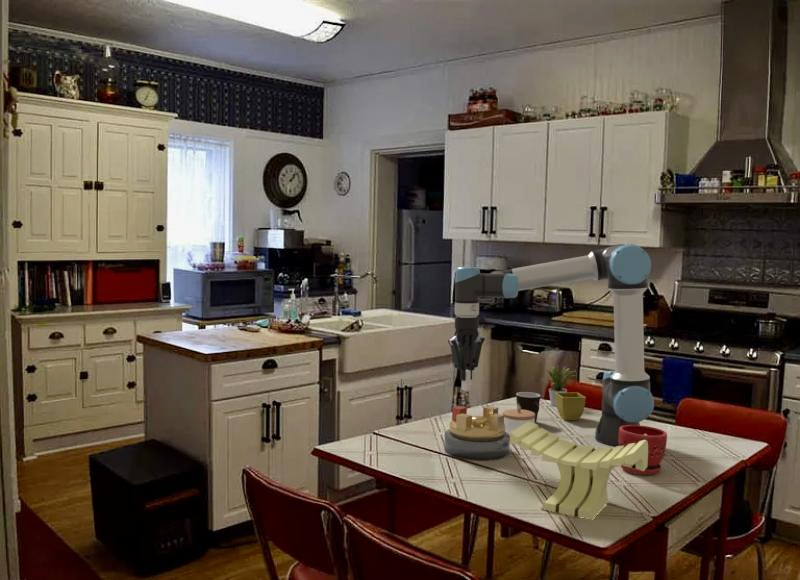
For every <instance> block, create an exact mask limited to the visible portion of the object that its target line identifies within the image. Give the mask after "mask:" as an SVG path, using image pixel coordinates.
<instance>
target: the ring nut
mask: <svg viewBox="0 0 800 580" xmlns="http://www.w3.org/2000/svg"><path fill="white" fill-rule="evenodd" d="M451 409H452V411H451V413H452V414H451V421H450V422H449V429H450V435H452V436H453V437H455V438H458V439H462V440H468V441H478V442H486V441H496V440H500V439H502V438H504V437H505V432H506V430H505V424H504V415H503V414H499V407H495V406H489V405H488V406H484V407H483V409H482V410H483V412H482V413H483V414H482V415H471V414H468V413H467V412H468V407H467V406H461V405H457V406H454V407H452V408H451Z"/></svg>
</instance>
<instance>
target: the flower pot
mask: <svg viewBox="0 0 800 580" xmlns="http://www.w3.org/2000/svg"><path fill="white" fill-rule="evenodd" d="M586 399H587V397H586V396H584V395H582V394H581V393H579V392H567V393H556V405H557V406H556V408H557V412H558V413H559V416H560V418H562V419H563V420H565V421H579V420H580V419H581V418H582V415H583V413H584V410H585V406H586Z"/></svg>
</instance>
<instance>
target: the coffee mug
mask: <svg viewBox="0 0 800 580" xmlns="http://www.w3.org/2000/svg"><path fill="white" fill-rule="evenodd" d="M515 395H516V396H515V398H516V409H518V408H521V409H522V410H528V411H532V412H534V413H535V424H537V421H538V420H537V419H538V415H539V414H538V413H539V411H540V401H541V394H539V393H536V392H533V391H532V392H530V391H521V392H520V391H519V392H517V393H515Z"/></svg>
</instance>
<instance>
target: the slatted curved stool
mask: <svg viewBox="0 0 800 580" xmlns="http://www.w3.org/2000/svg"><path fill="white" fill-rule="evenodd" d="M549 432H550V431H549V430H546V429H544V428H543V427H539V424H537V423H536V424H535V423H532V422H527V423H525V424H524V425H522V426H520V427H519V428H517V429H515V430H513V431H512V432H510V444H512V445H519V444H520V450H525V451H531V453H530V454H531V455H532V456H535V457H536V456H537V457H539V456H541V461H544V462H548V463H554V464H556V465H557V467H558V470H559V474H560V475H559V476H560V482H559V485H558V486H557V488H556V490H555V491H554V492H553V493H552V495H550V497H549V498H548V499H547V500H546V501H544V503H543V505H542V506H541V508H540V510H542V509H544V510H543V511H546V510H548V511H547V512H551V511H552V513H556V512H558V514H560V513H562V514H561V515H565V514H568V515H567V516H569V515H572V516H571V517H575V516H574V515H577V516H576V517H577V518H578V517H584V518H589V519H593V518H594V517H595V516H596V515H597V513H599V511H600V510H601V509H602V508H603V507H604V505H605V504H606V503H607V502H608V503H609V499H608V490H607V489H608V488H607V487H608V482H609V481H608V480H609V477H610V475H611V472H612V470H613V469H614V468H620V467H621V466H622V465H623V466H626V467H632V466H633V465H635V467H636V469H639V470H641V471H644V470H645V469H646V468H647V464H648V442H647V440H642V441H639V442H638V443H637V444H635V443H631V444H628V445H627V446H626V447H625V448H624V446H615V447H614V448H613V447H612V446H611V447H608V446H607V447H605V446H604V447H601V446H600V447H599V446H598V447H597V448H595V446H589V445H584V444H579V445H577V443H576V442H572V441H569V440H566V439H563V438H560V436H558V435H556V434H553V433H549ZM621 468H622V467H621Z"/></svg>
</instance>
